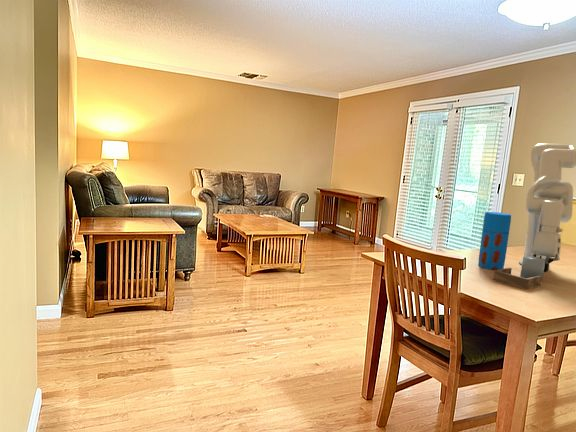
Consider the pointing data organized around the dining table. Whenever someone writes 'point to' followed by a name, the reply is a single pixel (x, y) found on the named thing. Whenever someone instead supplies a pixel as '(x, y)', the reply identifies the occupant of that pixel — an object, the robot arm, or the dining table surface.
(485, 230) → the blue domino block
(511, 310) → the dining table surface
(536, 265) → the grey-blue mug
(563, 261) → the dining table surface
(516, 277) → the caddy
